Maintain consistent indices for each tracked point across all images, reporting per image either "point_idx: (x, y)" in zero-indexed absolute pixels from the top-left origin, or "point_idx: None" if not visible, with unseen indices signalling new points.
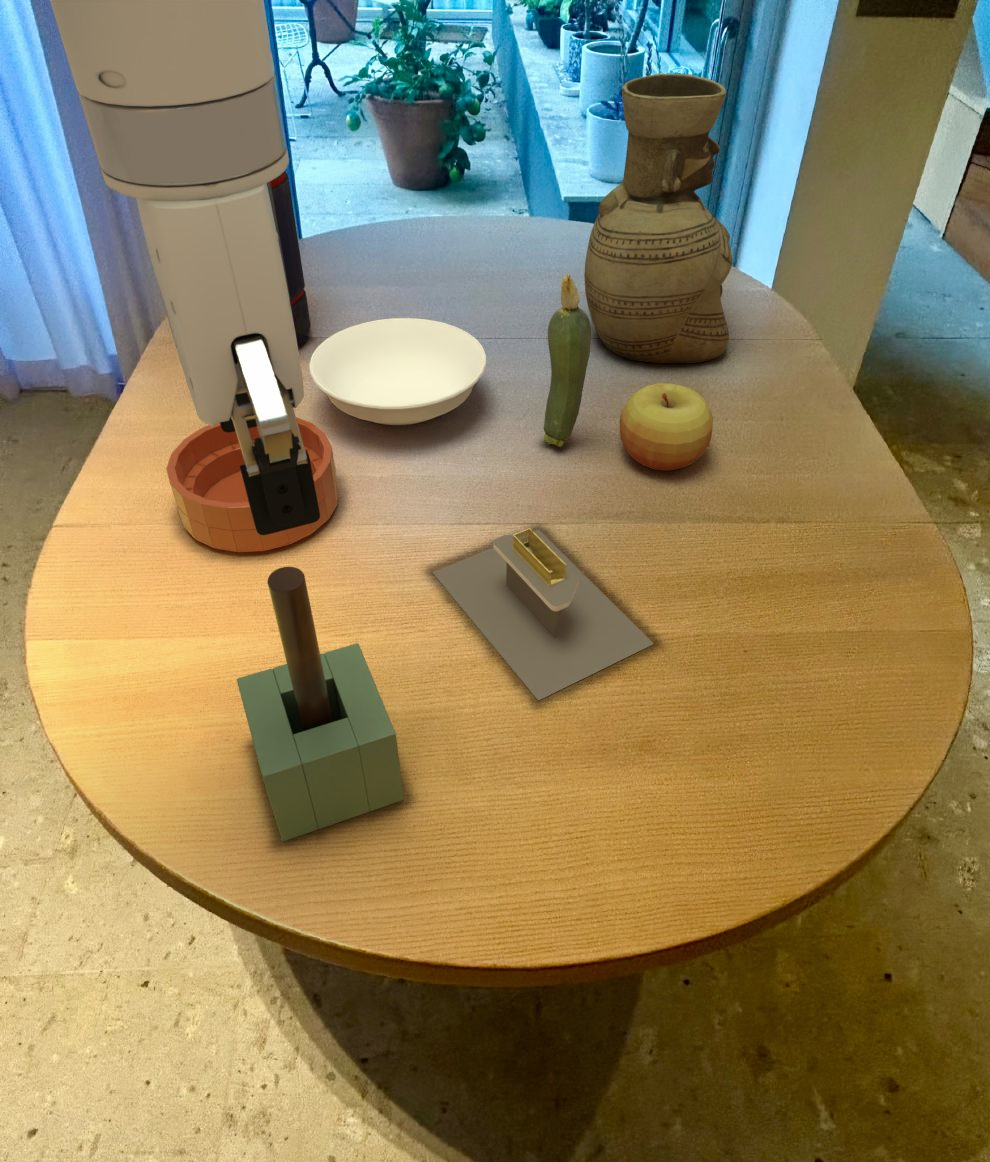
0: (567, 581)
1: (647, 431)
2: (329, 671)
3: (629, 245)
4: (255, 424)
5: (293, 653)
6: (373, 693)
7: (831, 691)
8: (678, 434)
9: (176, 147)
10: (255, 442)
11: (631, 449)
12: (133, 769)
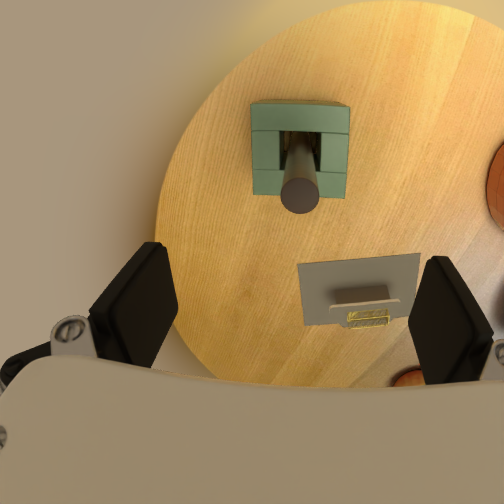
0: (344, 321)
1: None
2: (326, 171)
3: None
4: (417, 299)
5: (287, 161)
6: None
7: (245, 361)
8: None
9: None
10: (9, 381)
11: (417, 375)
12: (350, 30)
